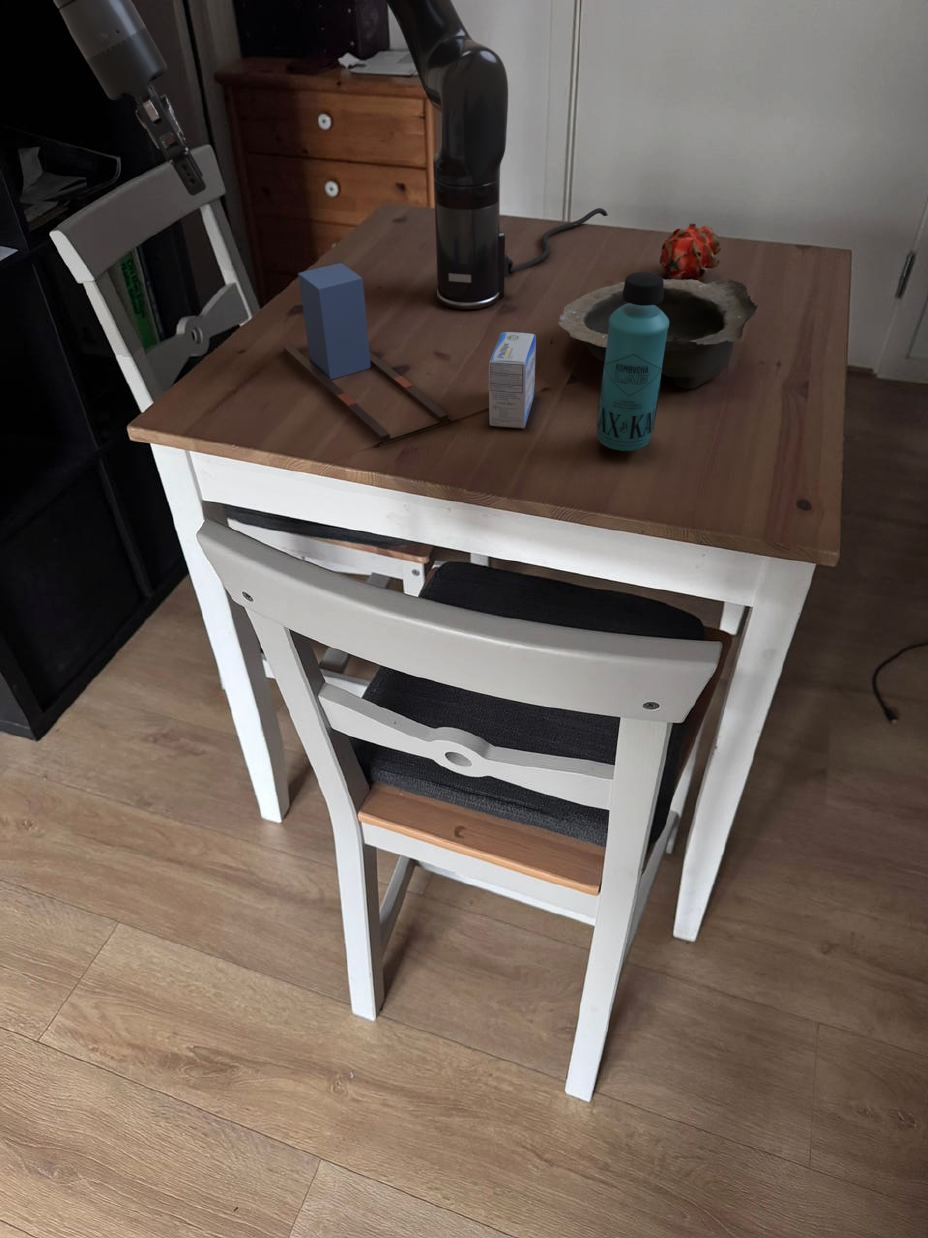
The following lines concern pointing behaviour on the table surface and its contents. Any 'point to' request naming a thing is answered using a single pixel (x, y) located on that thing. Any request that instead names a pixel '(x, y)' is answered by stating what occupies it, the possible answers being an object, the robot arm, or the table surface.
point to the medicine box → (512, 379)
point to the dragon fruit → (690, 253)
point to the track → (357, 410)
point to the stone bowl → (673, 325)
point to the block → (335, 320)
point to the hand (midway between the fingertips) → (197, 186)
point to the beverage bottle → (633, 365)
